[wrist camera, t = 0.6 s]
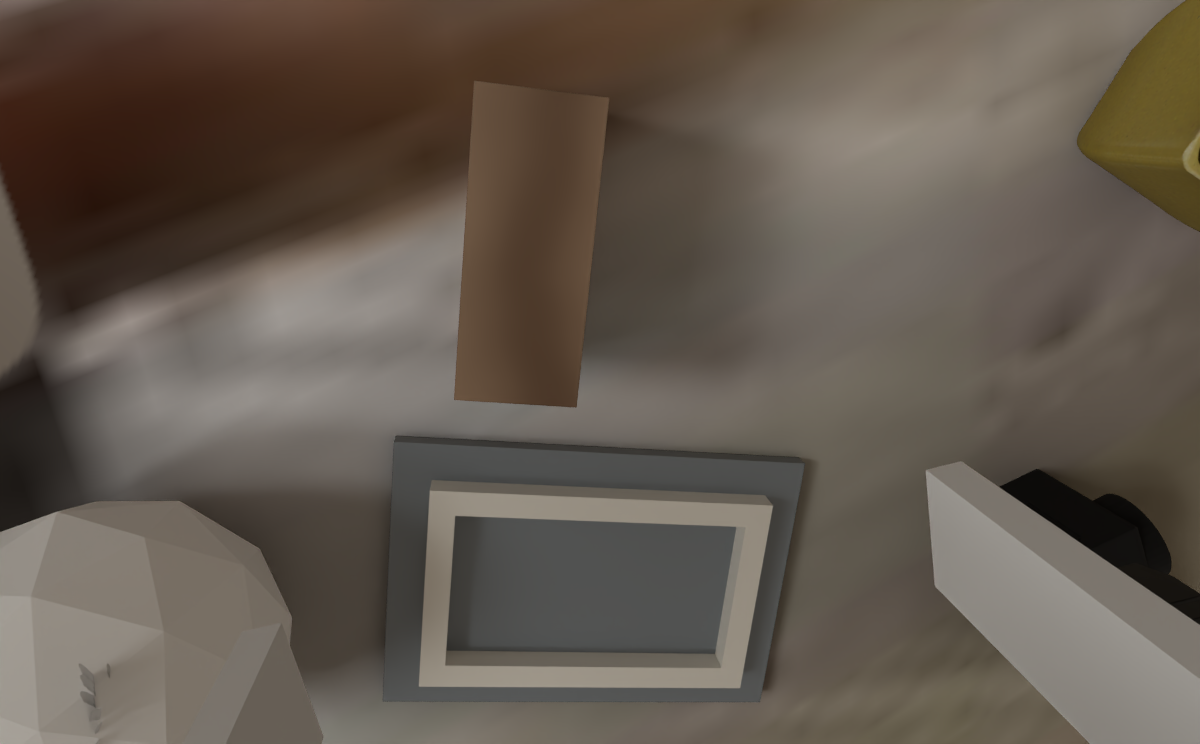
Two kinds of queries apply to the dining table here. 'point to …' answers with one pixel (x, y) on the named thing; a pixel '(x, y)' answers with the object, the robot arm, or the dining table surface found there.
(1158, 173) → the flower pot
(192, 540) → the geodesic sphere
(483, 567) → the grey flat frame
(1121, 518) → the digital camera
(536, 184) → the walnut block
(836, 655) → the dining table surface
